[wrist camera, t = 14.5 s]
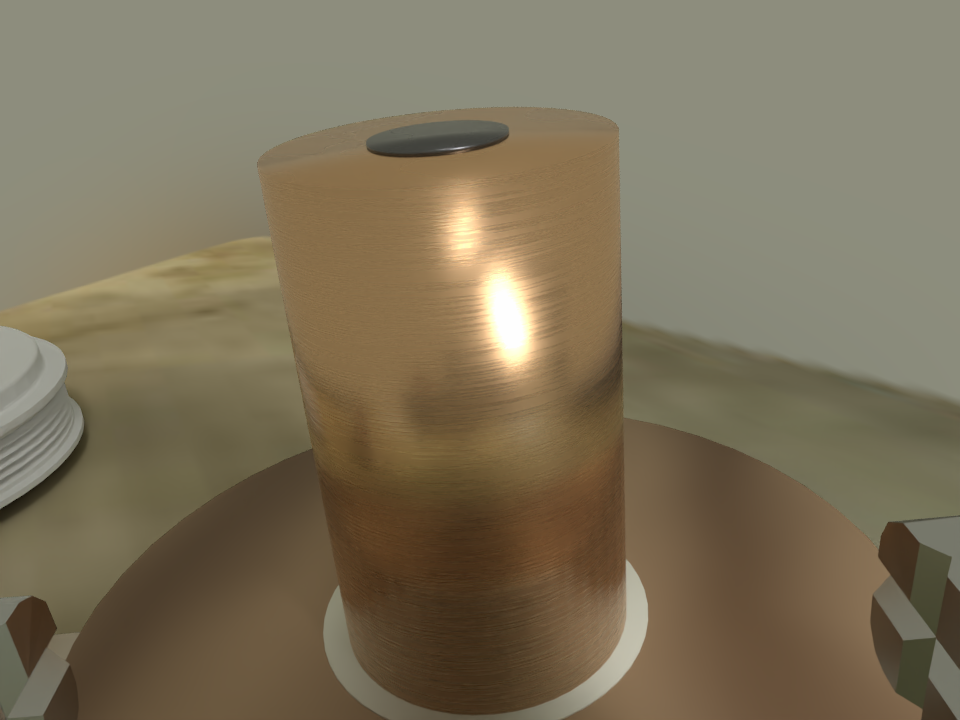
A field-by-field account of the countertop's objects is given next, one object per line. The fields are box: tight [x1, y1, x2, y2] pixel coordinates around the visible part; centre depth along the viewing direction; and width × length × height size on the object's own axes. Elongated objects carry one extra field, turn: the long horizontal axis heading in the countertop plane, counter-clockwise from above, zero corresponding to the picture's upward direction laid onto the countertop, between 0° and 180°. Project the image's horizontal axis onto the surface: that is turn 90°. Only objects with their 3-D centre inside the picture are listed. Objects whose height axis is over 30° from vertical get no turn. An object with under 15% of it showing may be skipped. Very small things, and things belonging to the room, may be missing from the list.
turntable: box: [48, 418, 923, 720], centre depth 19 cm, size 20×18×2 cm
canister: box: [257, 107, 627, 716], centre depth 17 cm, size 6×6×10 cm
